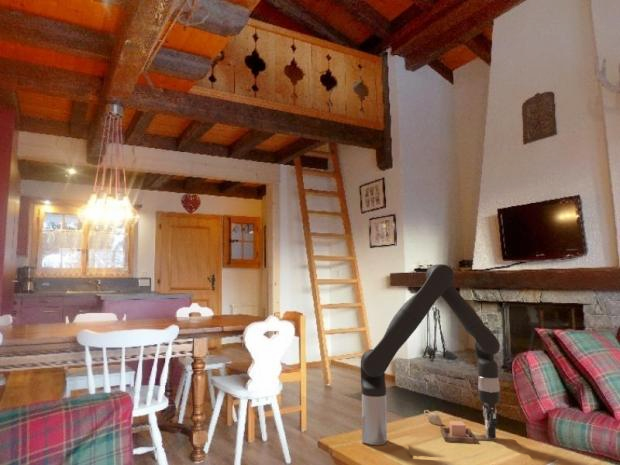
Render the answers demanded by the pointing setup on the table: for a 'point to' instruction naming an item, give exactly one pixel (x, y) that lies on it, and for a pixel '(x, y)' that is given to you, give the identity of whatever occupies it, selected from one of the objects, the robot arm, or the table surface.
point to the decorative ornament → (433, 418)
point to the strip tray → (467, 435)
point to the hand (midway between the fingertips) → (490, 435)
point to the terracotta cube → (457, 428)
